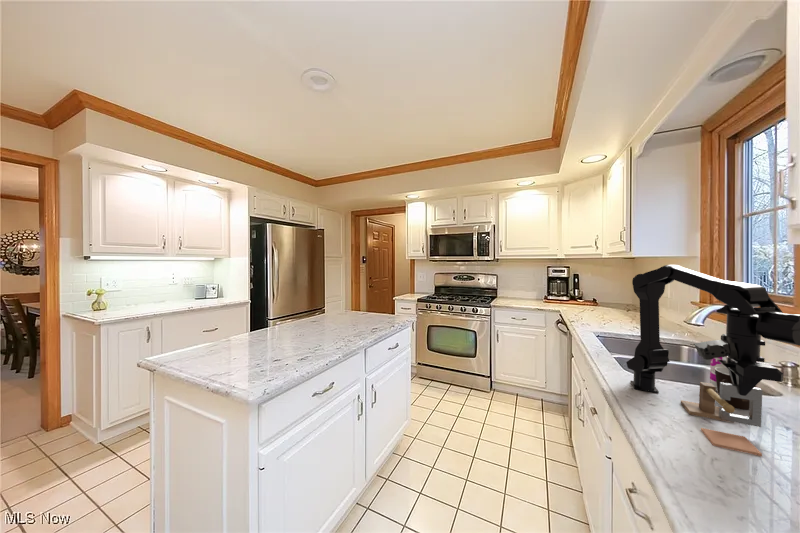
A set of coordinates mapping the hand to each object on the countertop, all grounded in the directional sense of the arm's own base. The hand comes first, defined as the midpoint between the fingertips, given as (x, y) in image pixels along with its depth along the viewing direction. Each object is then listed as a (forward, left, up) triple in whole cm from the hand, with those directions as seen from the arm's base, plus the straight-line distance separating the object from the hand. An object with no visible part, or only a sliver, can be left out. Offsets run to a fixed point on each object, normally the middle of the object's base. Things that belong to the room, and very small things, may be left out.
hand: (740, 393), depth 74 cm
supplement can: (-31, +9, -11) cm, 34 cm away
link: (0, 0, -8) cm, 8 cm away
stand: (-5, -3, -11) cm, 12 cm away
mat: (+6, -4, -11) cm, 13 cm away
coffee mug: (-19, +5, -11) cm, 23 cm away
